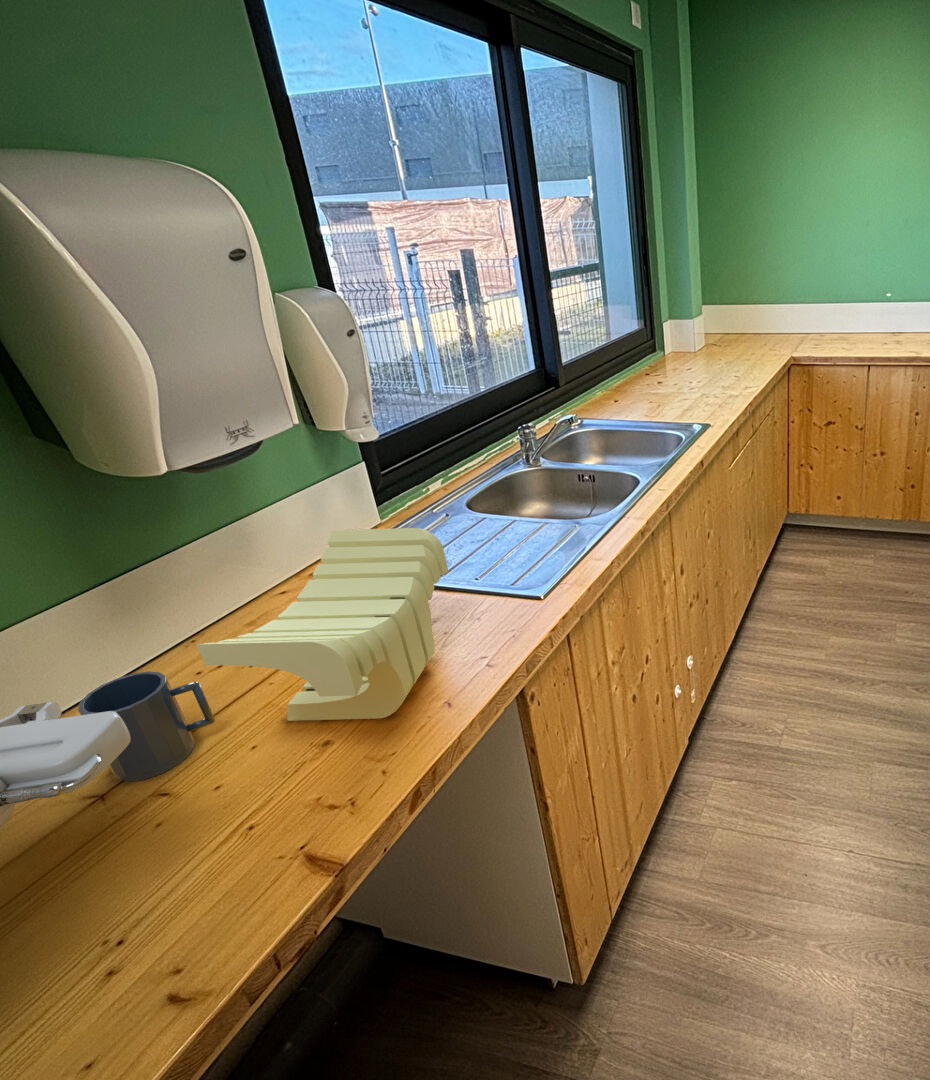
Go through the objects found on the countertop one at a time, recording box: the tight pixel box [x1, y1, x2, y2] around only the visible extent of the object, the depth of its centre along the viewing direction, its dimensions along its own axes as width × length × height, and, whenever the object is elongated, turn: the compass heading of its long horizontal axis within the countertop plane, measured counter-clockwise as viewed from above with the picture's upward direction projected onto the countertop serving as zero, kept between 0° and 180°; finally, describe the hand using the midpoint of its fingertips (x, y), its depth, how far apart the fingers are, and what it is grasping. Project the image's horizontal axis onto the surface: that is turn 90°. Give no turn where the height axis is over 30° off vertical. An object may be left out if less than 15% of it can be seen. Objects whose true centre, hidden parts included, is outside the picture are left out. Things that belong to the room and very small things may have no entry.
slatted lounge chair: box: [195, 527, 450, 722], centre depth 94 cm, size 30×16×18 cm, turn 0°
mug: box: [77, 671, 216, 782], centre depth 85 cm, size 11×8×10 cm
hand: (43, 708), depth 70 cm, fingers closed
